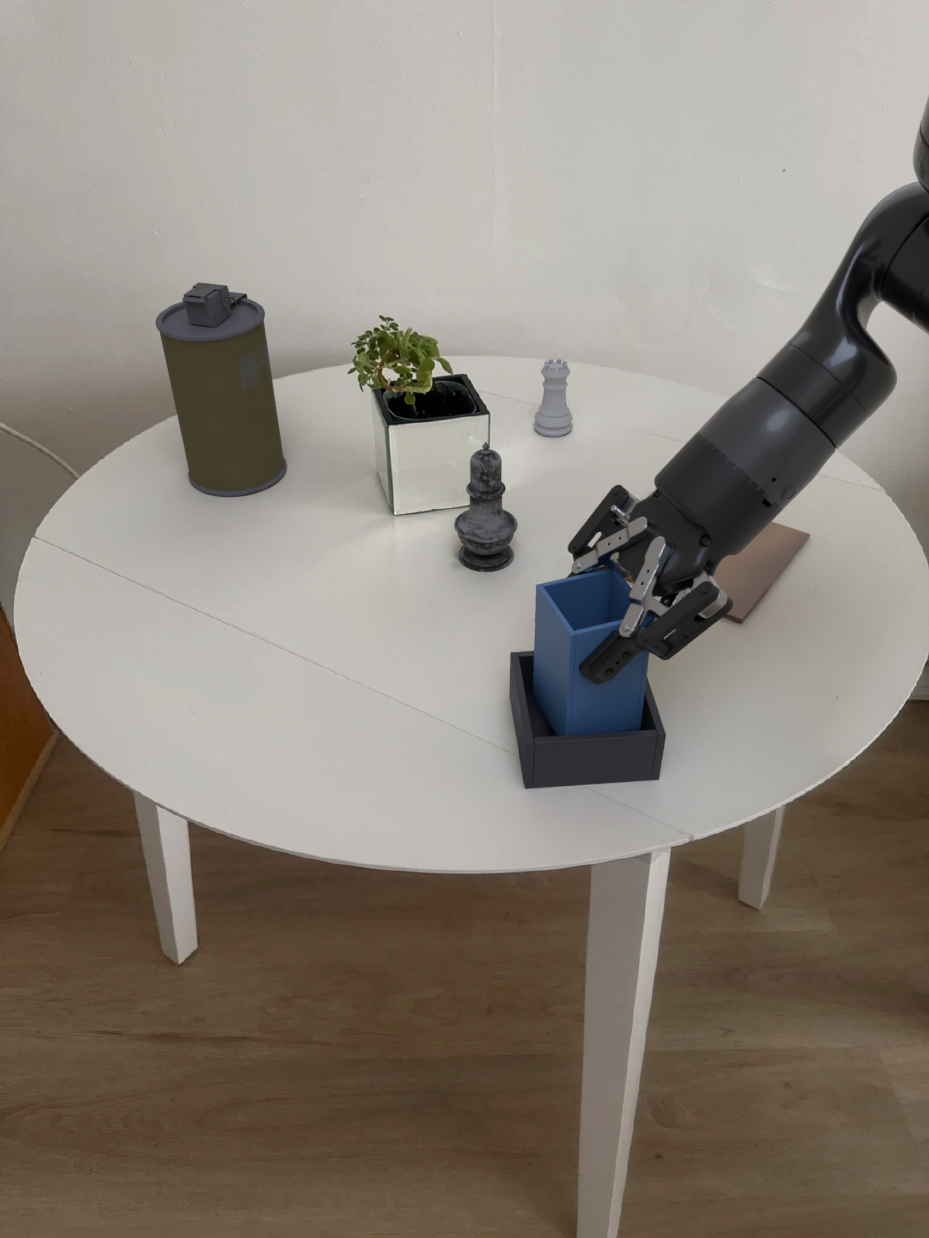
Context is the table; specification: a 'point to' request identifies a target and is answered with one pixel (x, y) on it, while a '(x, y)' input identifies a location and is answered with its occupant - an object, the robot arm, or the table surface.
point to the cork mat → (756, 567)
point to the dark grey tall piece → (485, 516)
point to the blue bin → (584, 655)
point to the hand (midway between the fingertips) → (568, 647)
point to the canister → (223, 390)
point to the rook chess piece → (554, 401)
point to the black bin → (580, 741)
